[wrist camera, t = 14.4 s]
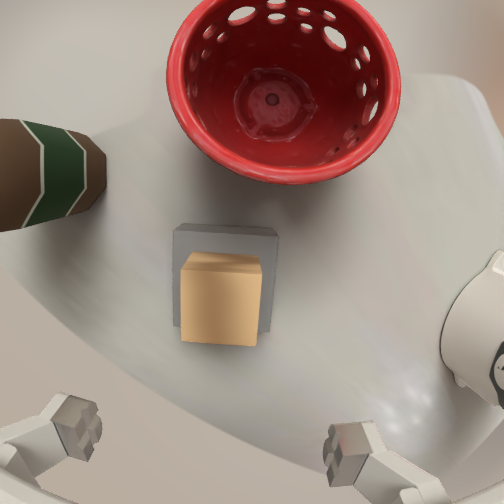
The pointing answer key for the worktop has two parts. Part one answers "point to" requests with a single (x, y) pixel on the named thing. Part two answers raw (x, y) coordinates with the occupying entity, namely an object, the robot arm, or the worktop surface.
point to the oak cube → (220, 298)
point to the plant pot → (283, 88)
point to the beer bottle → (46, 173)
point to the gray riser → (231, 243)
